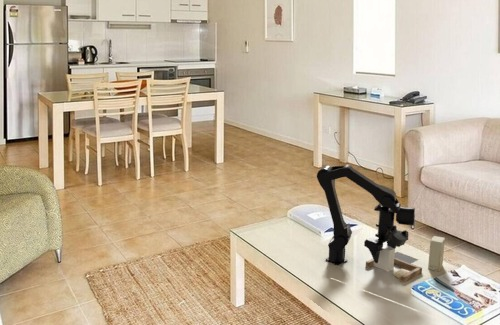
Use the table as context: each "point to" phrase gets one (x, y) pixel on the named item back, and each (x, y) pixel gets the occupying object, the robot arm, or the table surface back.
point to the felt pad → (405, 257)
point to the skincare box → (436, 253)
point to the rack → (414, 269)
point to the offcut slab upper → (401, 272)
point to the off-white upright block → (386, 258)
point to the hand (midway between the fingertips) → (383, 259)
